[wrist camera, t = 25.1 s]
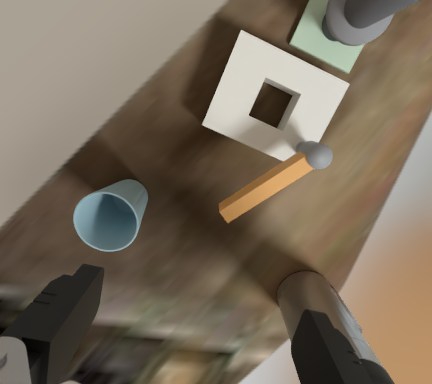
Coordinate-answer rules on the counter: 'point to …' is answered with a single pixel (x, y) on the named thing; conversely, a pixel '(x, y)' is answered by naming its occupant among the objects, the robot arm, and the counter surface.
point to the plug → (359, 19)
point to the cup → (111, 215)
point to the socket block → (282, 79)
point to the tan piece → (276, 179)
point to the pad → (322, 39)
